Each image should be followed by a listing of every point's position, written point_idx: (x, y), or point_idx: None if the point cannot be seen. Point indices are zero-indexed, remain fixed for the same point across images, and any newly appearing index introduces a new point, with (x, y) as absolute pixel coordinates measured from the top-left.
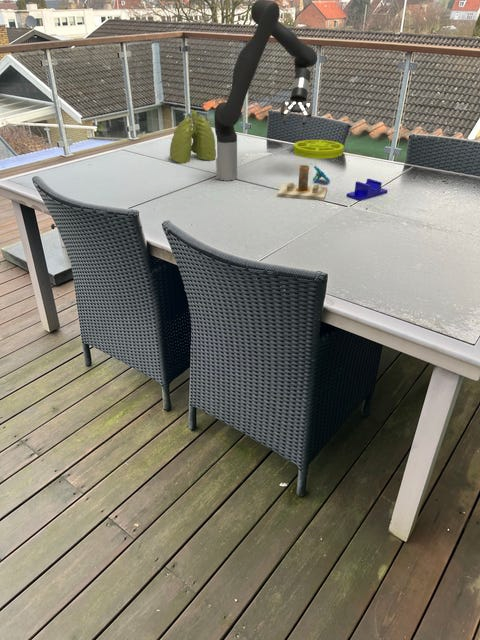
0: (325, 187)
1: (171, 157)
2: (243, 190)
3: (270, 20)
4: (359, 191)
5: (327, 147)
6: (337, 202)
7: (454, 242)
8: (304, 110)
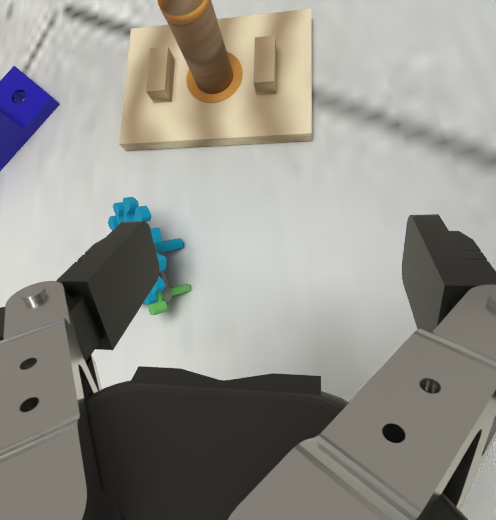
0: (126, 138)
1: None
2: (479, 46)
3: None
4: (4, 112)
5: None
6: (92, 37)
7: None
8: (19, 341)
